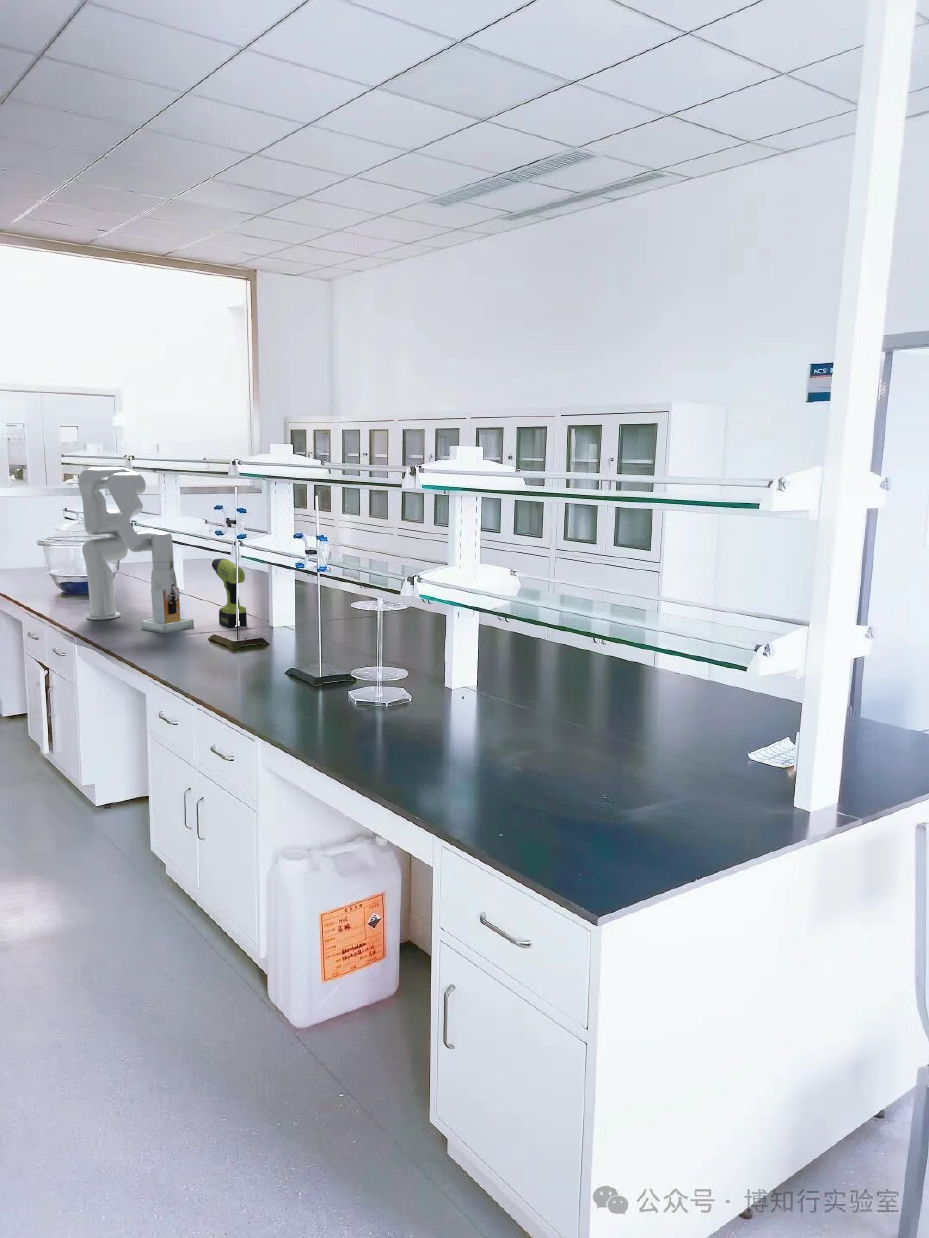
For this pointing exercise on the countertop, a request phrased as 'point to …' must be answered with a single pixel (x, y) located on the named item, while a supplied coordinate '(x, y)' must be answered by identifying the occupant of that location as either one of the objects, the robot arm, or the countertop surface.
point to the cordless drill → (230, 593)
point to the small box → (163, 607)
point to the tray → (167, 625)
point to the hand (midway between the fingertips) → (166, 612)
